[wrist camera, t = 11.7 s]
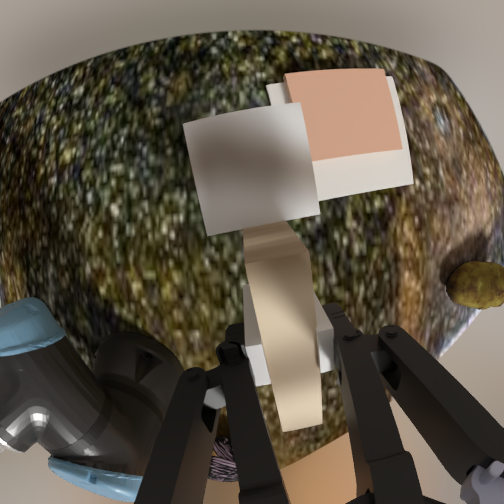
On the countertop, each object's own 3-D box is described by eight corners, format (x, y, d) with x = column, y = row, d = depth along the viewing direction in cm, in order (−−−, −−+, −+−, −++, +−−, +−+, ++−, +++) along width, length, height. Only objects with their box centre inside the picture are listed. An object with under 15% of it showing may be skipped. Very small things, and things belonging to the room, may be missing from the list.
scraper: (329, 356, 21) (354, 414, 15) (246, 373, 21) (249, 436, 15) (298, 104, 15) (331, 72, 8) (184, 125, 15) (151, 103, 9)
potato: (455, 242, 32) (490, 261, 25) (493, 260, 33) (522, 277, 26) (436, 292, 35) (465, 317, 27) (476, 301, 36) (501, 322, 28)
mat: (293, 205, 30) (294, 206, 30) (265, 86, 26) (266, 85, 25) (411, 183, 29) (413, 183, 29) (390, 77, 25) (392, 76, 24)
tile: (306, 162, 27) (284, 73, 24) (303, 162, 28) (282, 77, 25) (402, 149, 26) (383, 68, 23) (396, 149, 28) (377, 72, 24)
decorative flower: (267, 491, 38) (197, 498, 32) (245, 456, 49) (182, 456, 42) (296, 448, 38) (217, 455, 31) (267, 412, 48) (198, 410, 42)
